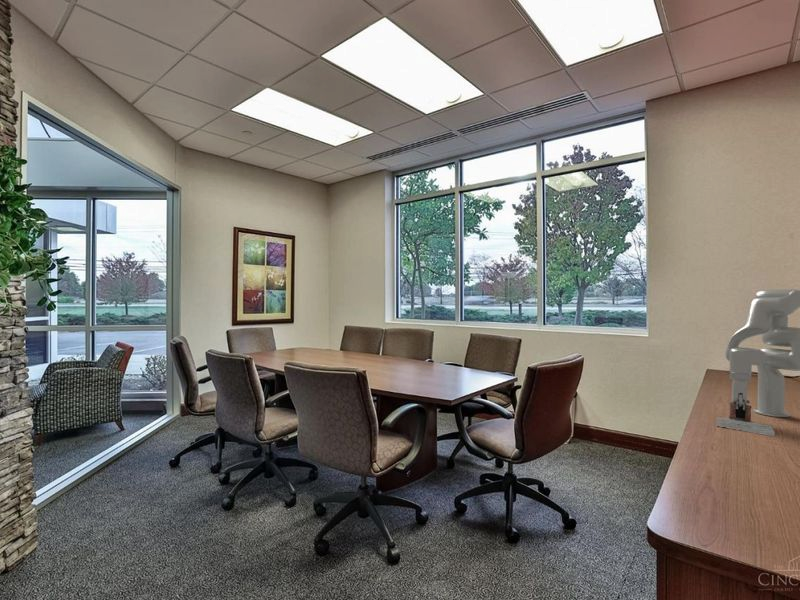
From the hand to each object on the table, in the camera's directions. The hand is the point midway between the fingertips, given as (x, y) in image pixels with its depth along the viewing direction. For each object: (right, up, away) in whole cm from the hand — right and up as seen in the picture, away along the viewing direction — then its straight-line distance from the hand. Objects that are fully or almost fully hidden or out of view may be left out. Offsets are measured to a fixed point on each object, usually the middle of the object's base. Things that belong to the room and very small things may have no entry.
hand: (740, 416), depth 178 cm
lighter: (0, -2, 0) cm, 2 cm away
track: (-7, -2, -11) cm, 13 cm away
